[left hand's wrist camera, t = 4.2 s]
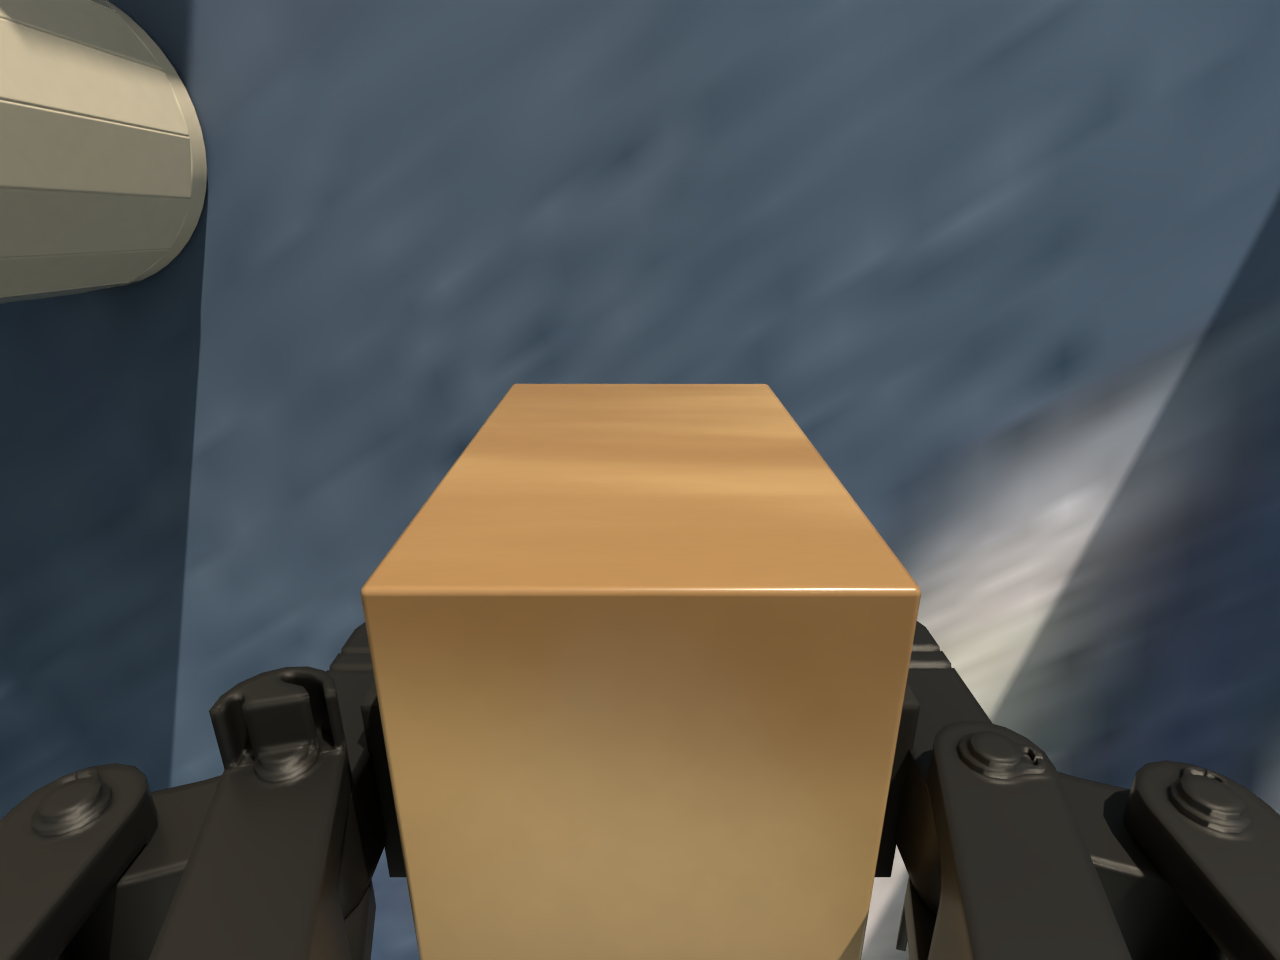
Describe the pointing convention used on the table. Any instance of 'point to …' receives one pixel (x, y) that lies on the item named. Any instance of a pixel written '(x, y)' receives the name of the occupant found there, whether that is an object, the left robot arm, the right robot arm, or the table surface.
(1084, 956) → the left robot arm
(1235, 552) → the table surface
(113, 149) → the cream cup
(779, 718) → the pine beam
